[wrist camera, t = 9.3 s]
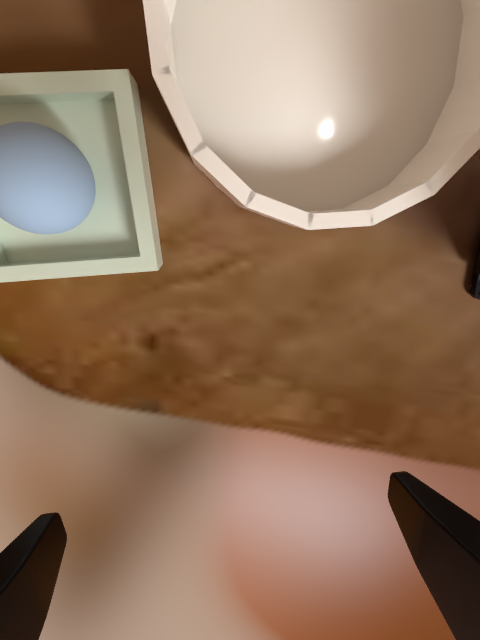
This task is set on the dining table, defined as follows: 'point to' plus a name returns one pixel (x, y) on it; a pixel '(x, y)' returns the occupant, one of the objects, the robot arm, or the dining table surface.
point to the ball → (43, 179)
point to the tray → (108, 169)
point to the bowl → (321, 100)
